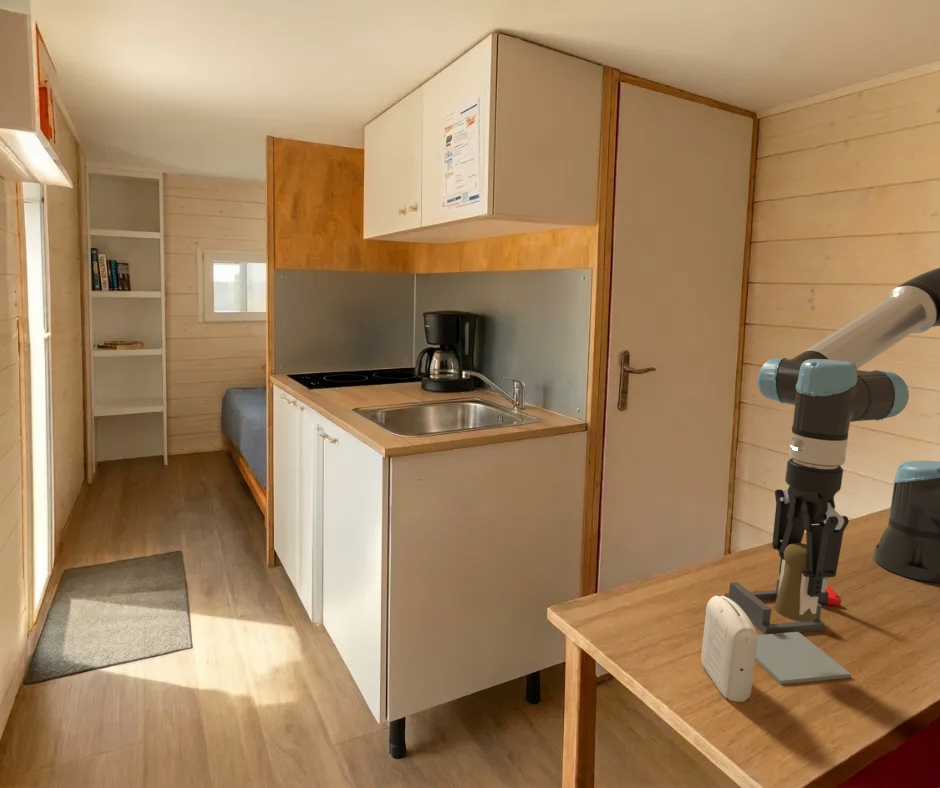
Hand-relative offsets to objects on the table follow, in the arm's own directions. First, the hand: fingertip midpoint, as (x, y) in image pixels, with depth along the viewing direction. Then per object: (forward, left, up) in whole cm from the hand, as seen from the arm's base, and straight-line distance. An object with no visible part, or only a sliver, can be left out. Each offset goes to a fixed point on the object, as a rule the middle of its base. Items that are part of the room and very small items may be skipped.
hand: (796, 605), depth 102 cm
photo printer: (+14, +4, -9) cm, 17 cm away
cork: (0, 0, -1) cm, 1 cm away
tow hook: (-19, -19, -10) cm, 29 cm away
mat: (0, 0, -9) cm, 9 cm away
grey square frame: (-6, -13, -9) cm, 17 cm away
